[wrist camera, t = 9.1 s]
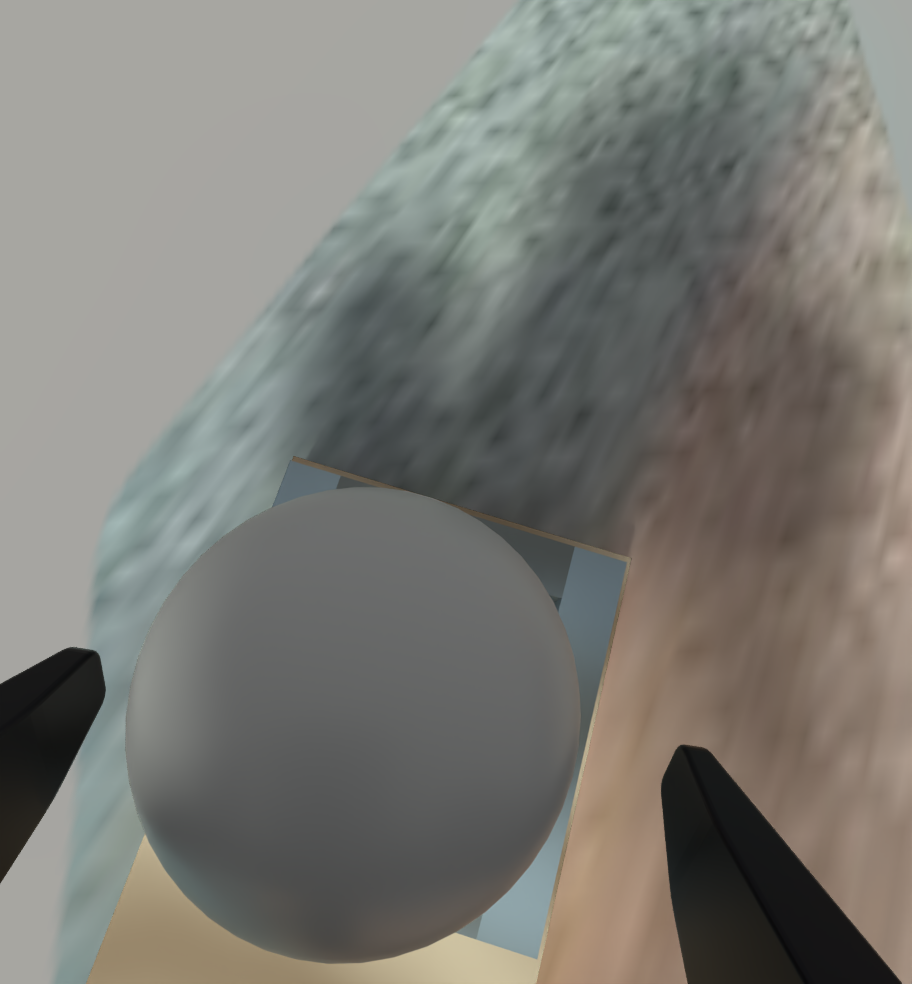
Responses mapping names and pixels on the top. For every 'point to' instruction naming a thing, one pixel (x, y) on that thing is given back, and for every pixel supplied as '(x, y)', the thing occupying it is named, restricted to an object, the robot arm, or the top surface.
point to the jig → (460, 956)
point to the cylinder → (352, 725)
